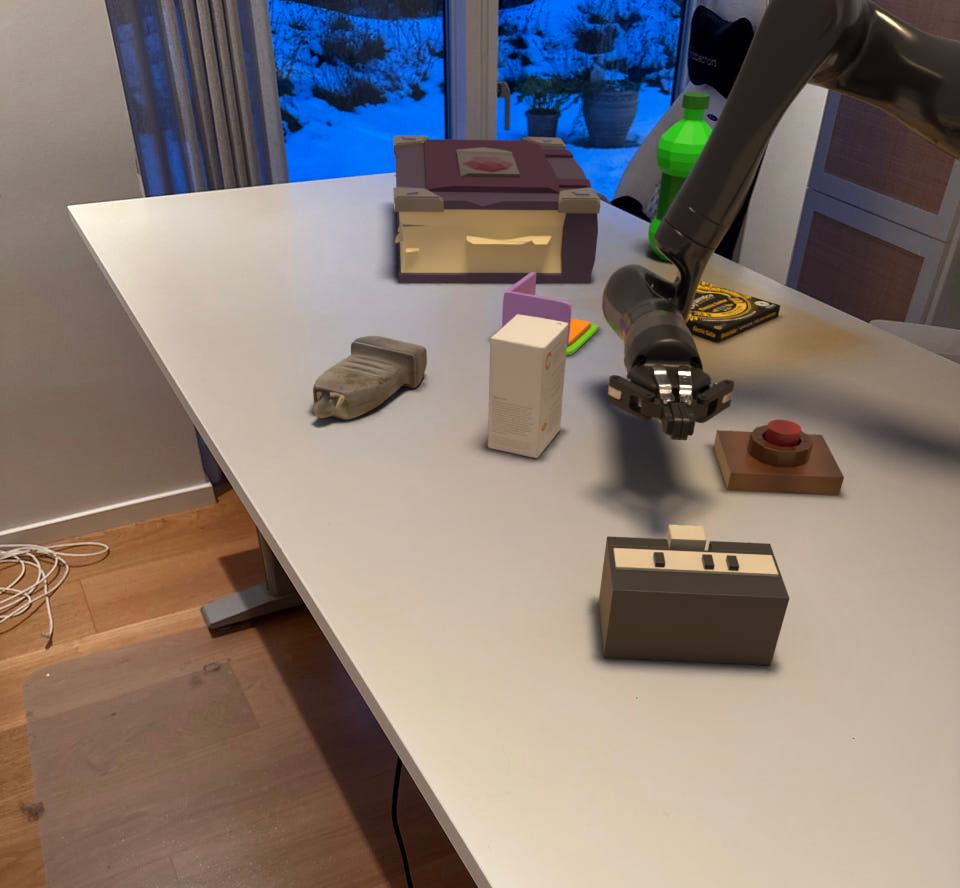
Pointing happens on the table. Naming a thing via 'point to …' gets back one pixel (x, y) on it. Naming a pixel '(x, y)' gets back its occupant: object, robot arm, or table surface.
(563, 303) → the toy room diorama
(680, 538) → the white key
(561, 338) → the small box
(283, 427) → the table surface
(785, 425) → the bell button
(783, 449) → the brown base plate
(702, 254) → the robot arm
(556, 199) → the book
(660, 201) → the plastic bottle
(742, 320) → the guitar strings
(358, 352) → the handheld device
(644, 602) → the toy piano
